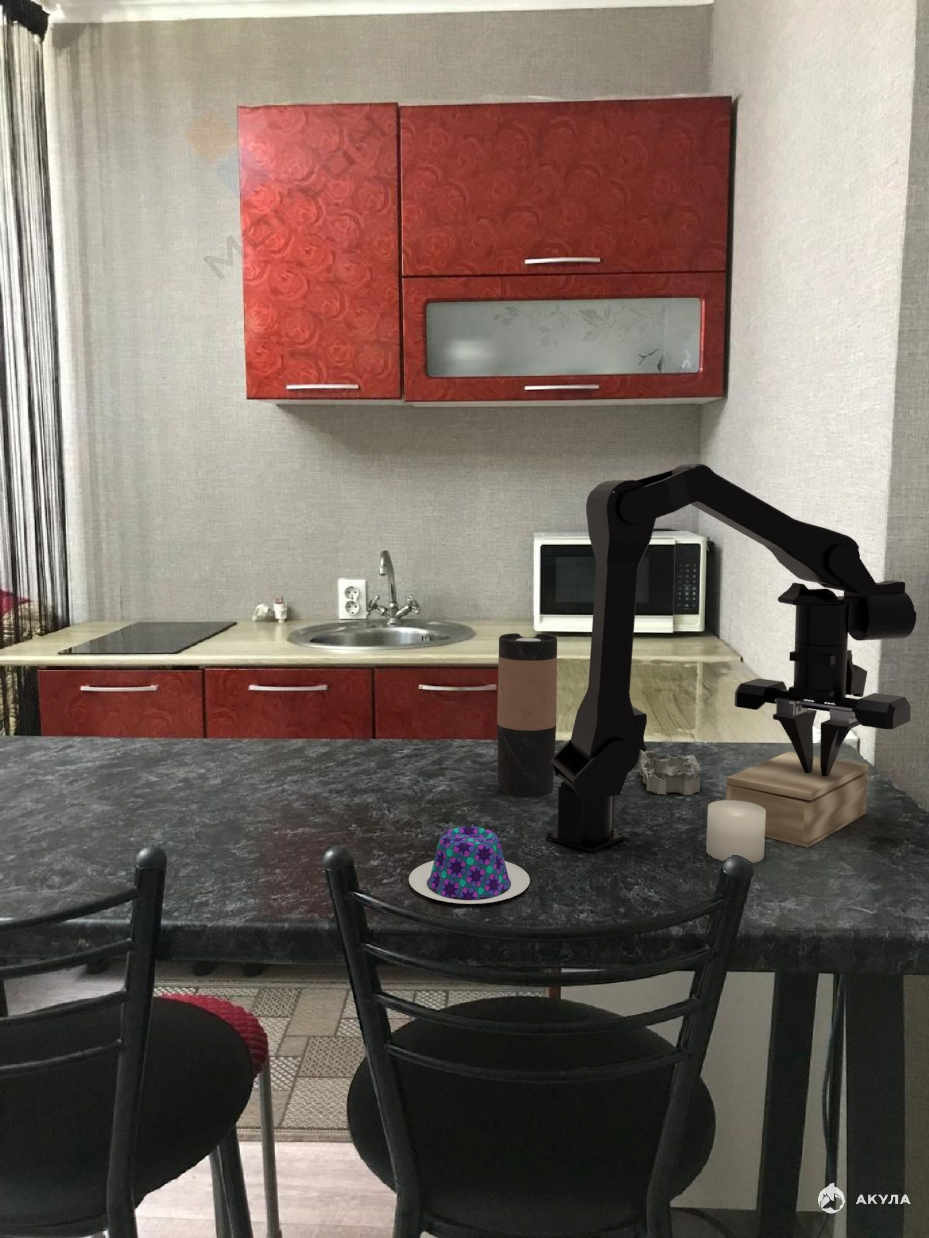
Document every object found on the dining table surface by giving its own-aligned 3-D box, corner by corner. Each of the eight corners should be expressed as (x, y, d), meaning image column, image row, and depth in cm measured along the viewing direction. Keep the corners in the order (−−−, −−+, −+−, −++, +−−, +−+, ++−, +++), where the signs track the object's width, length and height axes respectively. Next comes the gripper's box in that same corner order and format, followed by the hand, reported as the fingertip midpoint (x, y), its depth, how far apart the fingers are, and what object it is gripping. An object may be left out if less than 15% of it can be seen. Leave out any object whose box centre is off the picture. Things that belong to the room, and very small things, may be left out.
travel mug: (525, 801, 124) (528, 643, 121) (484, 787, 130) (485, 636, 127) (567, 789, 129) (570, 637, 126) (525, 776, 135) (528, 630, 132)
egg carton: (637, 773, 138) (638, 744, 137) (692, 775, 137) (693, 746, 137) (643, 795, 127) (644, 764, 127) (703, 798, 126) (704, 766, 126)
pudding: (553, 895, 96) (554, 843, 95) (445, 921, 90) (446, 866, 89) (489, 855, 106) (489, 808, 106) (388, 876, 100) (388, 826, 100)
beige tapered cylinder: (747, 868, 103) (749, 821, 102) (695, 853, 107) (697, 808, 106) (773, 853, 107) (775, 808, 106) (723, 839, 111) (725, 796, 110)
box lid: (810, 800, 108) (810, 793, 108) (726, 784, 115) (726, 777, 114) (867, 770, 119) (868, 764, 119) (788, 757, 126) (789, 751, 126)
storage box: (807, 847, 108) (810, 803, 108) (725, 826, 115) (726, 784, 115) (865, 813, 120) (867, 773, 119) (787, 795, 127) (789, 758, 126)
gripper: (930, 641, 113) (924, 774, 115) (777, 628, 126) (773, 748, 128) (893, 653, 105) (888, 796, 107) (733, 638, 118) (731, 766, 120)
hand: (816, 774), depth 115 cm, fingers closed on box lid, 2 cm apart
